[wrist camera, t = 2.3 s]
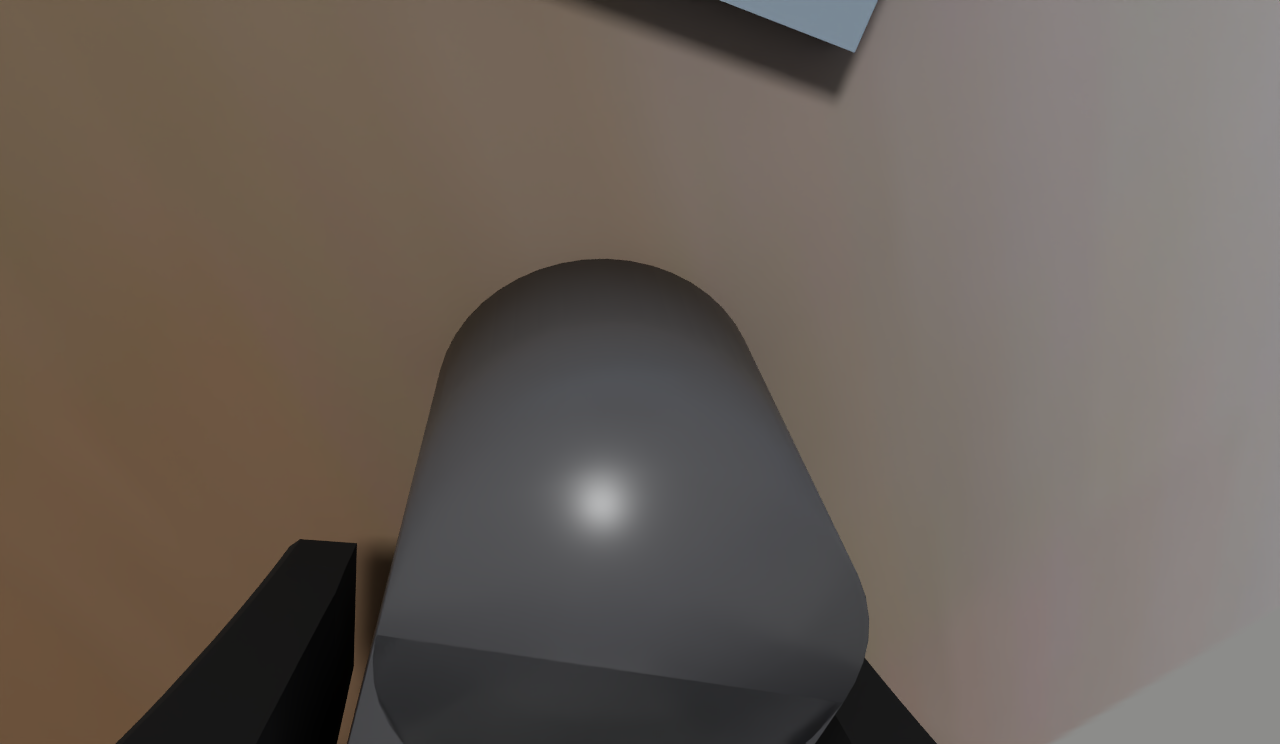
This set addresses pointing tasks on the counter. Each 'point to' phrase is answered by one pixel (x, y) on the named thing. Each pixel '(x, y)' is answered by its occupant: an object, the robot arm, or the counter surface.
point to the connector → (609, 535)
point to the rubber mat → (817, 17)
